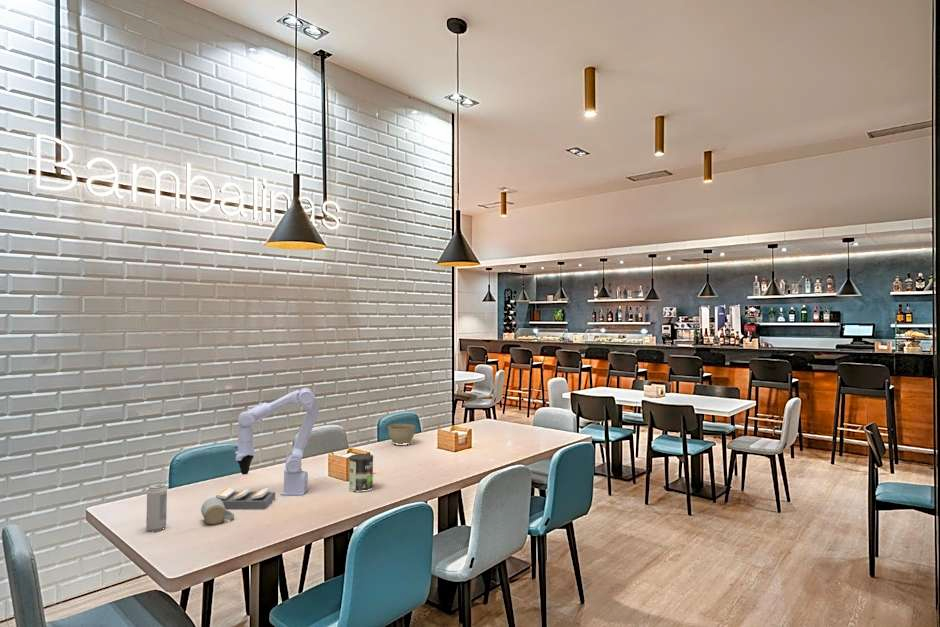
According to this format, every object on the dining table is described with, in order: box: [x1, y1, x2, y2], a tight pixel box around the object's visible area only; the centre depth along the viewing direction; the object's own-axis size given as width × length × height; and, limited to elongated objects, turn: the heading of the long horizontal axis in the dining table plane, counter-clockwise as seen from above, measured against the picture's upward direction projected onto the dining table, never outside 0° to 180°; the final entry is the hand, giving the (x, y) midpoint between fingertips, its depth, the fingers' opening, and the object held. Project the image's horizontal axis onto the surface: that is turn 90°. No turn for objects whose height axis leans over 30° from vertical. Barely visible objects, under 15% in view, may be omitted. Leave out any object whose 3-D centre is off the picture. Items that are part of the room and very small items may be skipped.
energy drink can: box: [145, 483, 168, 532], centre depth 190 cm, size 6×6×15 cm
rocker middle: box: [233, 486, 253, 500], centre depth 216 cm, size 4×9×1 cm, turn 2°
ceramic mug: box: [200, 497, 235, 525], centre depth 198 cm, size 11×8×8 cm
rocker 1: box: [215, 487, 237, 499], centre depth 216 cm, size 4×9×1 cm, turn 1°
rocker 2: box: [252, 487, 271, 499], centre depth 217 cm, size 4×9×1 cm, turn 2°
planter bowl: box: [387, 423, 416, 444], centre depth 325 cm, size 16×16×11 cm
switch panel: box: [214, 491, 276, 510], centre depth 216 cm, size 21×12×3 cm, turn 91°
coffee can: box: [348, 453, 374, 491], centre depth 238 cm, size 10×10×14 cm
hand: (244, 474), depth 226 cm, fingers closed
